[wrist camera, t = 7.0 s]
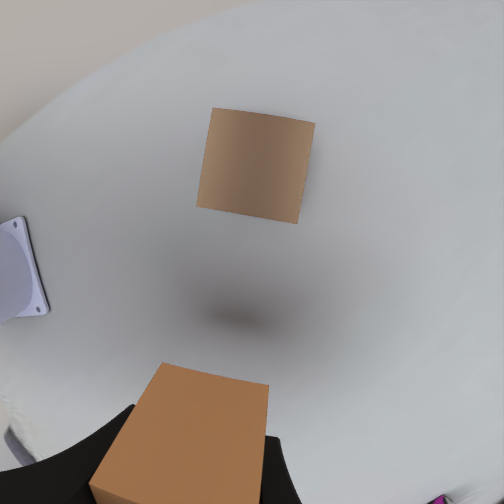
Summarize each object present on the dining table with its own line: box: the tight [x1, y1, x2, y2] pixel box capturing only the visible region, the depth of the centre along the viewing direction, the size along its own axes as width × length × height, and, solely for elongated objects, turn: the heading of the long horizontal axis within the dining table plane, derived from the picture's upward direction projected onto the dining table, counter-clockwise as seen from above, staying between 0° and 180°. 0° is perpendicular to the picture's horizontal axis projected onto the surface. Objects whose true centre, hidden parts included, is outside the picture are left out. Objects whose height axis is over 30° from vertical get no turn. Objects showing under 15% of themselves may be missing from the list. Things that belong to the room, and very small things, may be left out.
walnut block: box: [196, 108, 315, 224], centre depth 15 cm, size 4×4×6 cm
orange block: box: [89, 362, 269, 504], centre depth 8 cm, size 4×4×6 cm
